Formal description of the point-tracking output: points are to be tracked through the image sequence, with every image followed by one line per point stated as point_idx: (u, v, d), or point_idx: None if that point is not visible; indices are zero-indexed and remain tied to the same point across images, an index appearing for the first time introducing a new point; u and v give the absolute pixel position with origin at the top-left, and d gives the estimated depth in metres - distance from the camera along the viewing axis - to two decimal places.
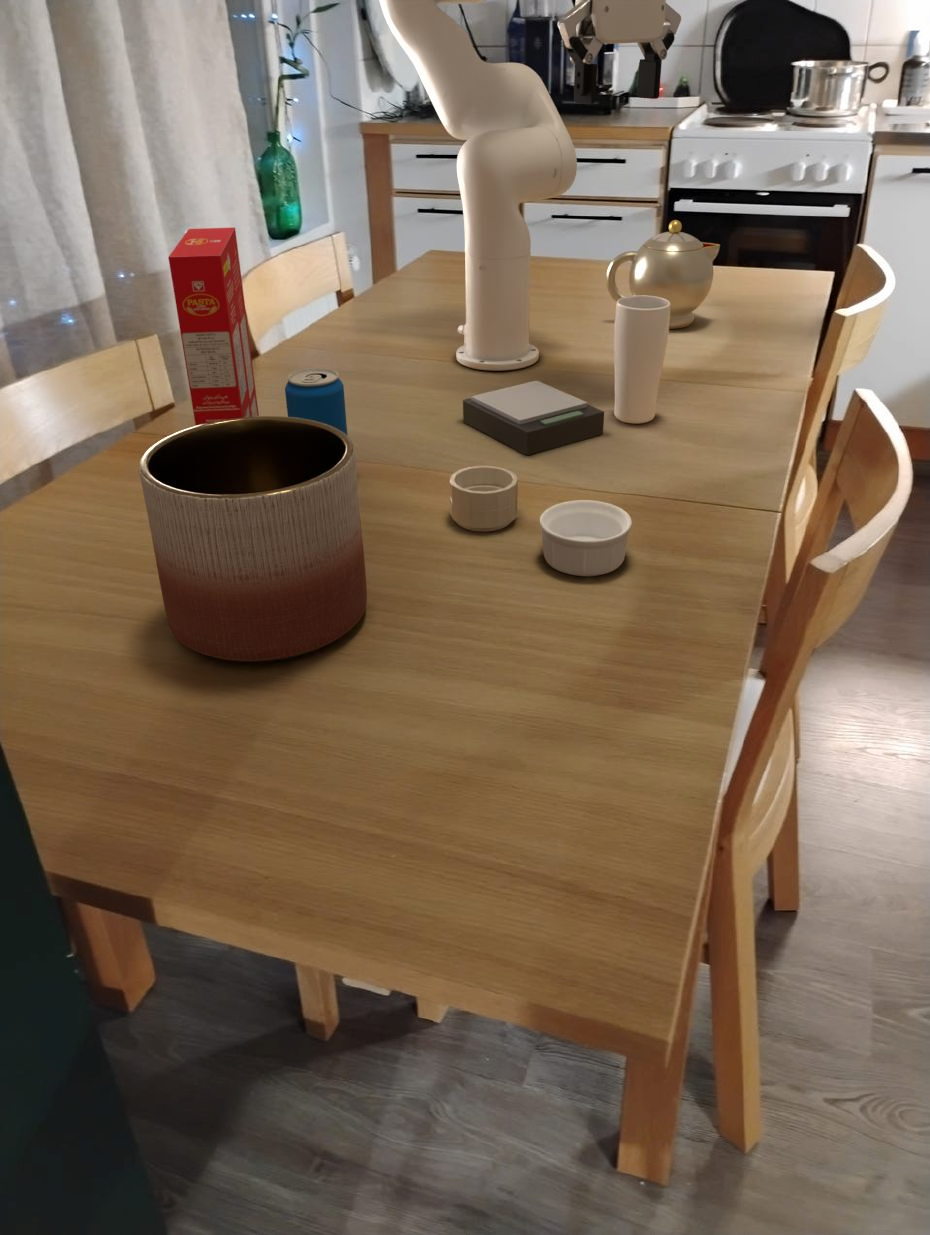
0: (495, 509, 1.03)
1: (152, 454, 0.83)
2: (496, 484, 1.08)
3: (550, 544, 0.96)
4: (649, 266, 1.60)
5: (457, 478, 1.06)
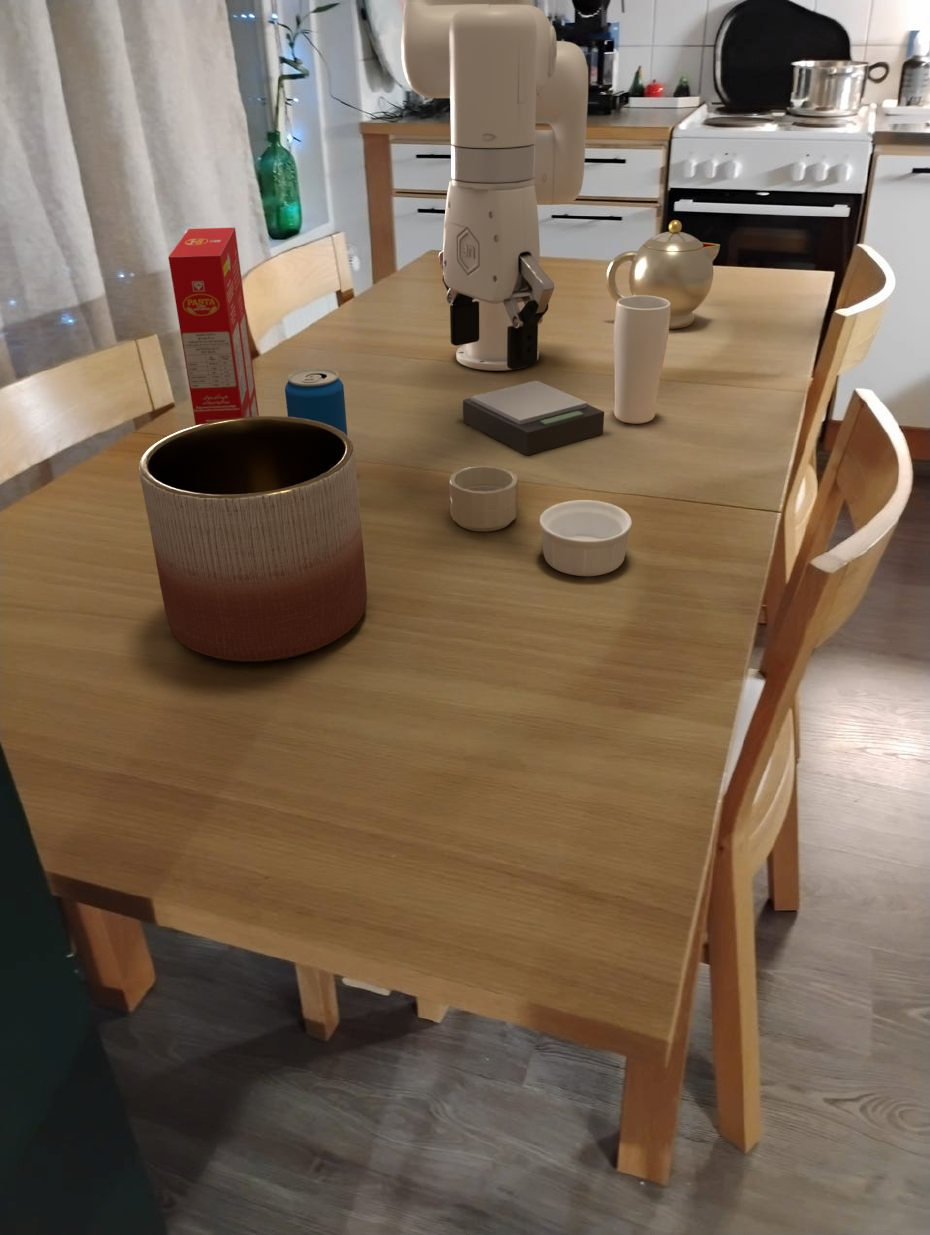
0: (495, 509, 1.03)
1: (151, 454, 0.83)
2: (496, 484, 1.08)
3: (550, 544, 0.96)
4: (649, 266, 1.60)
5: (457, 478, 1.06)
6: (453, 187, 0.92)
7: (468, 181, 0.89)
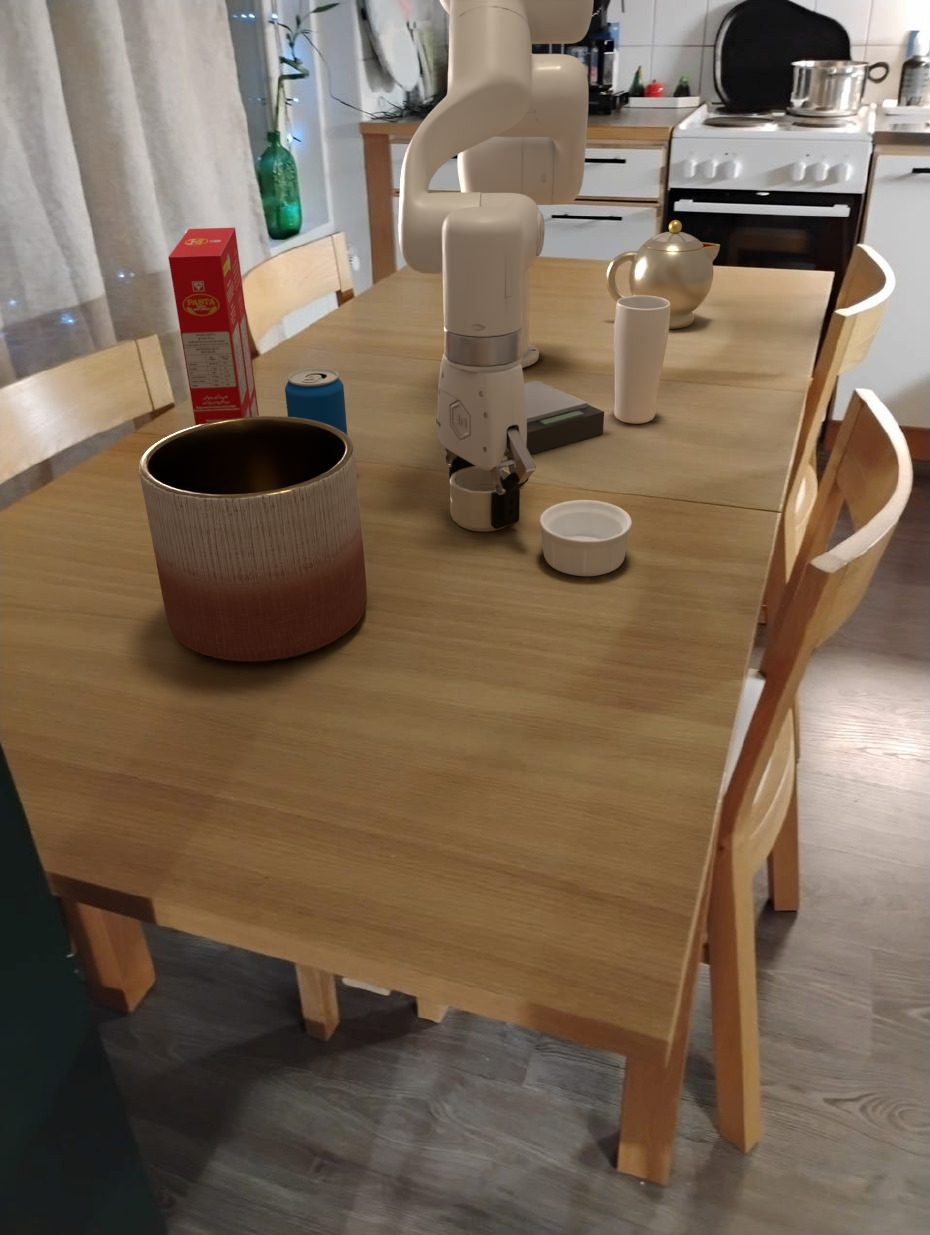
0: None
1: (151, 454, 0.83)
2: None
3: (550, 544, 0.96)
4: (649, 266, 1.60)
5: (457, 478, 1.06)
6: None
7: (460, 363, 0.95)
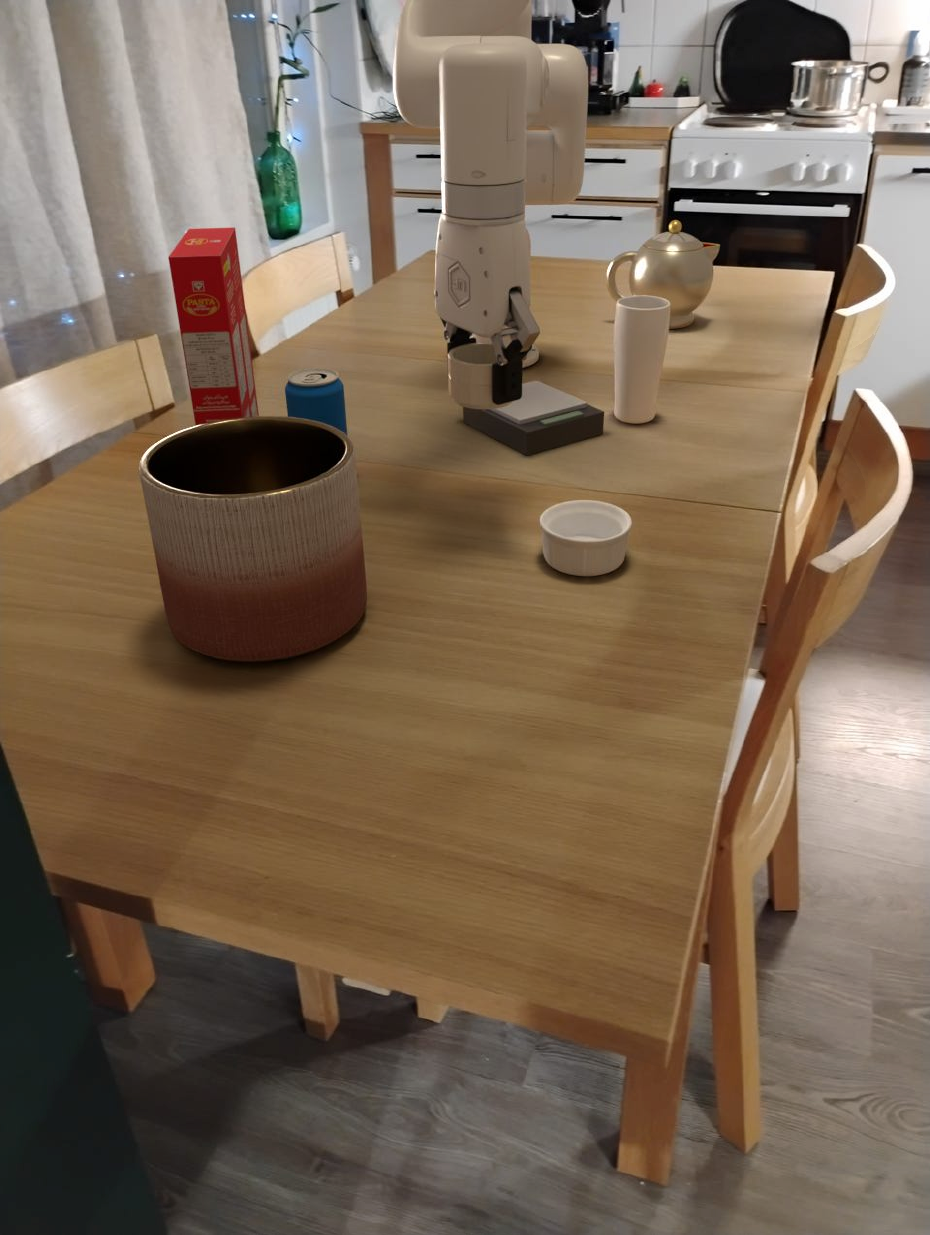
0: None
1: (151, 454, 0.83)
2: None
3: (550, 544, 0.96)
4: (649, 266, 1.60)
5: (456, 354, 1.00)
6: (444, 220, 0.93)
7: (458, 217, 0.89)
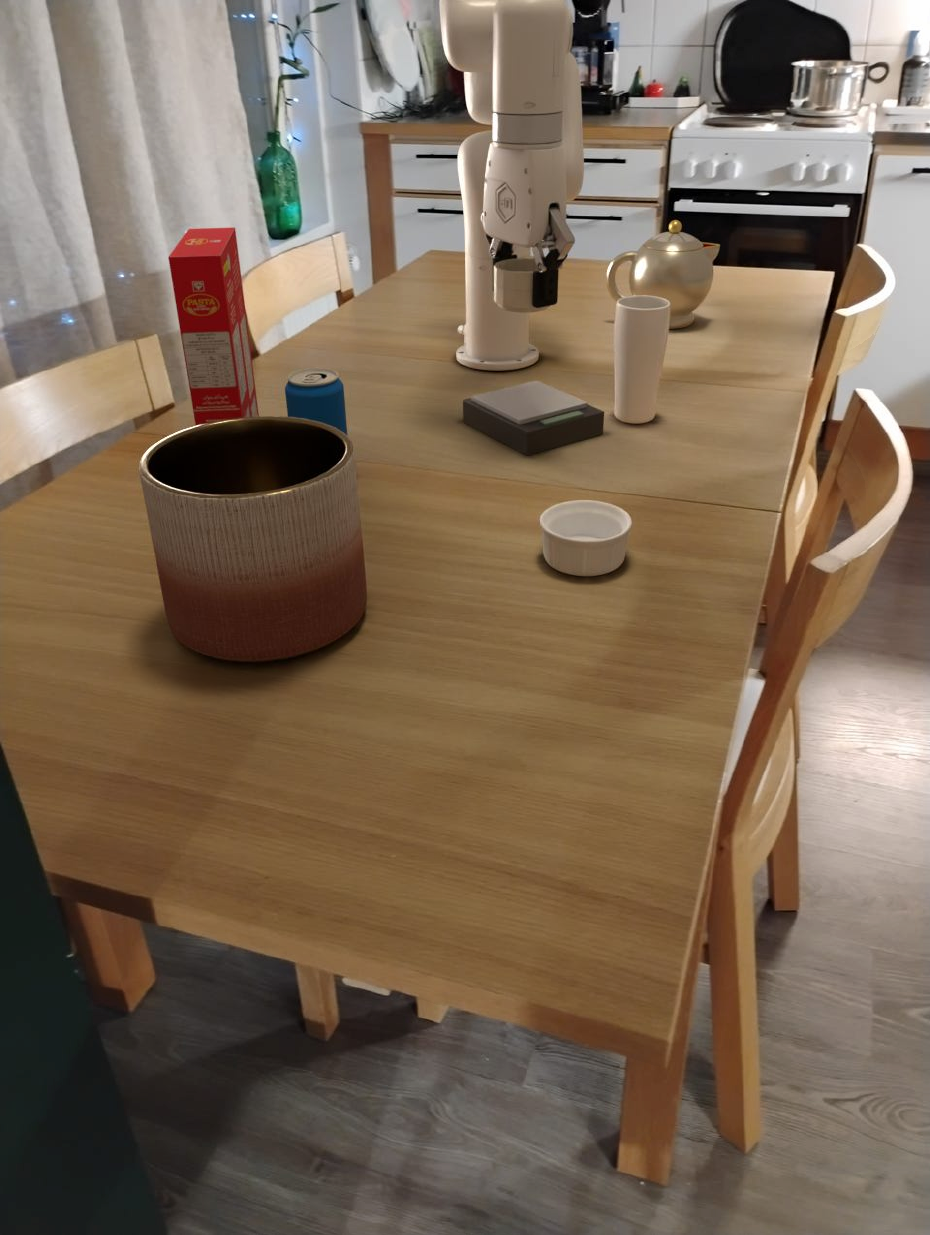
0: None
1: (151, 454, 0.83)
2: None
3: (550, 544, 0.96)
4: (649, 266, 1.60)
5: (500, 267, 1.17)
6: (493, 148, 1.09)
7: (507, 142, 1.06)
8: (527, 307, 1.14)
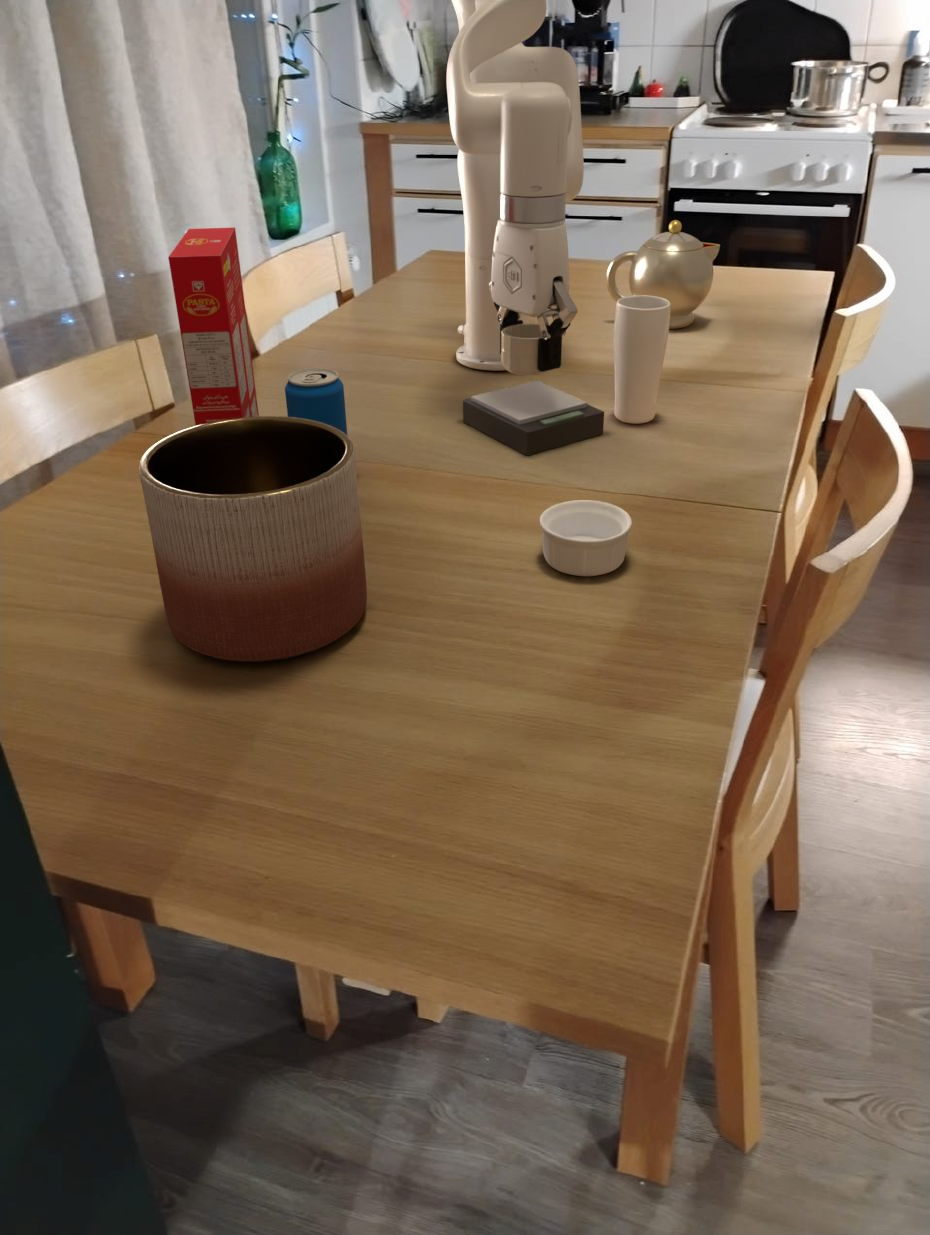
0: None
1: (151, 454, 0.83)
2: None
3: (550, 544, 0.96)
4: (649, 266, 1.60)
5: (507, 332, 1.24)
6: (501, 225, 1.18)
7: (514, 221, 1.14)
8: (532, 370, 1.22)
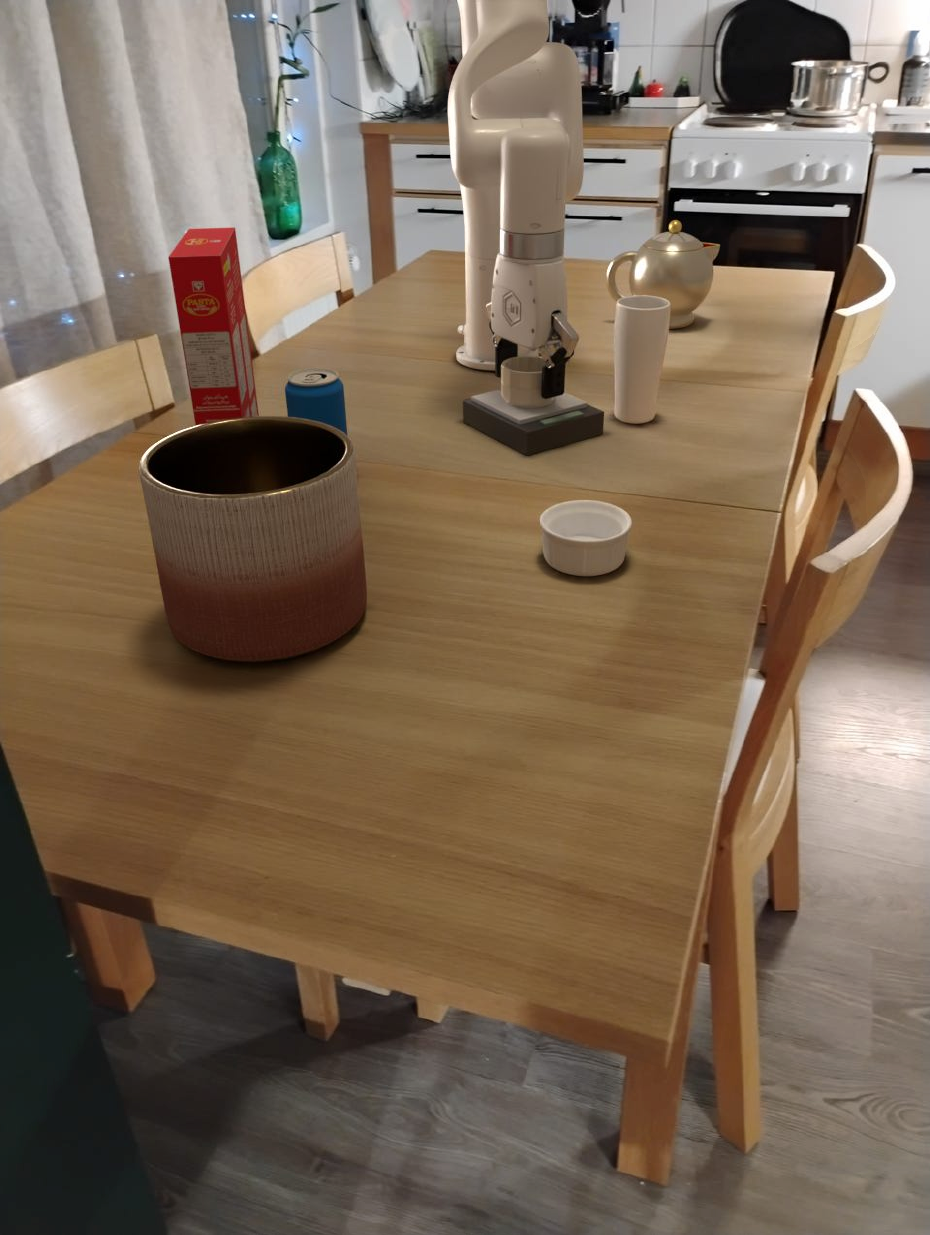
0: (540, 387, 1.24)
1: (151, 454, 0.83)
2: (539, 371, 1.29)
3: (550, 544, 0.96)
4: (649, 266, 1.60)
5: (507, 365, 1.27)
6: (500, 259, 1.20)
7: (513, 257, 1.16)
8: (532, 403, 1.24)
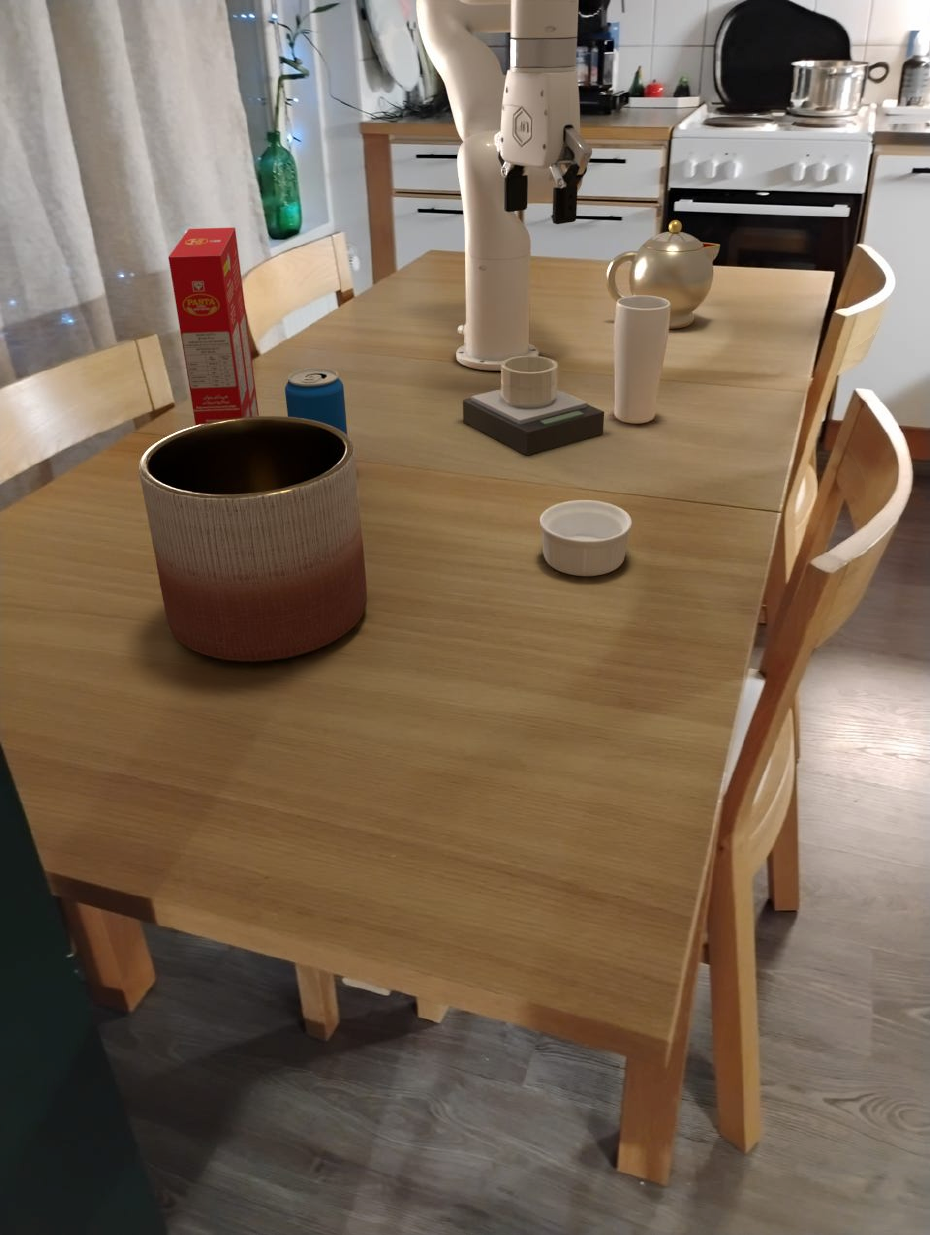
0: (540, 387, 1.24)
1: (151, 454, 0.83)
2: (539, 371, 1.29)
3: (550, 544, 0.96)
4: (649, 266, 1.60)
5: (507, 365, 1.27)
6: (510, 74, 1.16)
7: (524, 66, 1.12)
8: (532, 403, 1.24)
